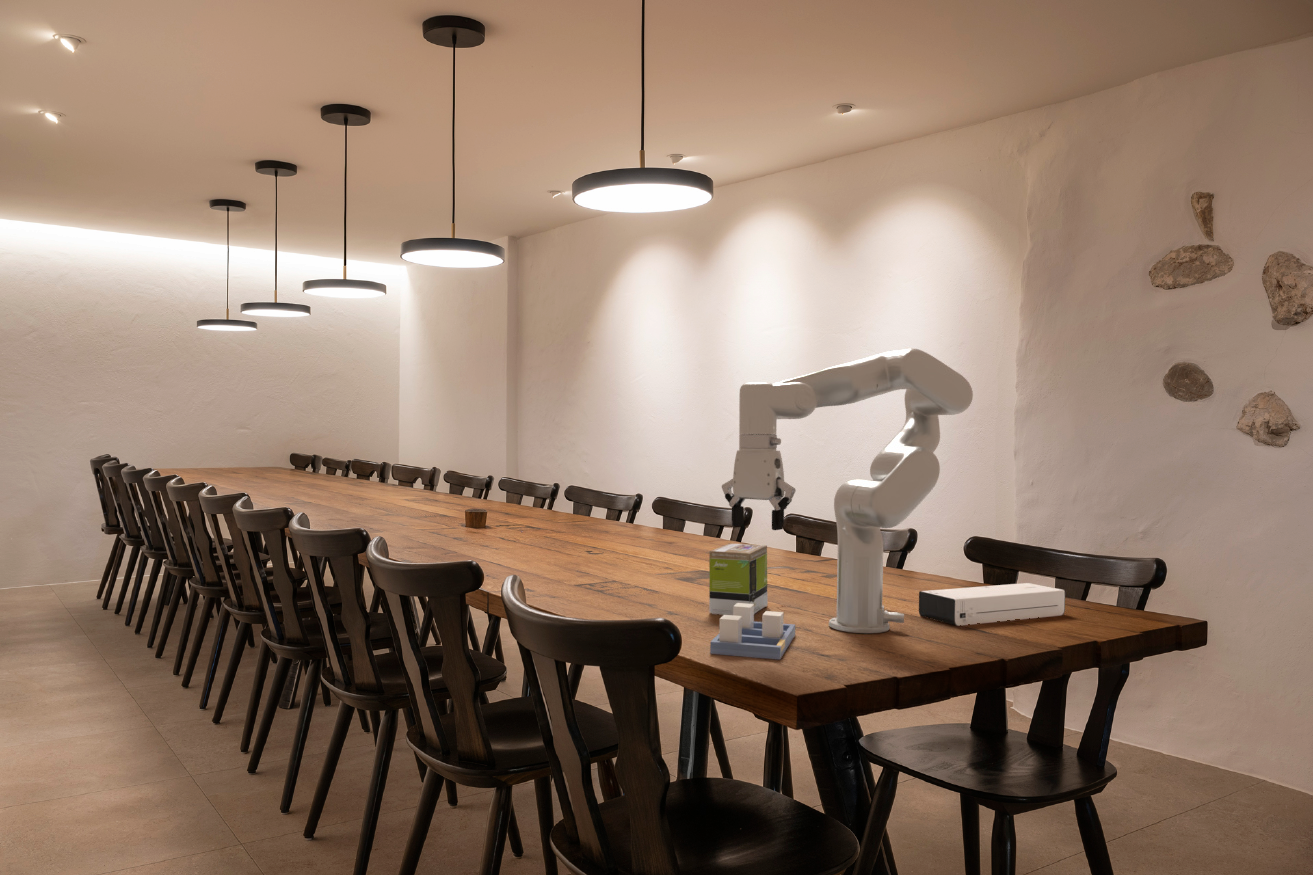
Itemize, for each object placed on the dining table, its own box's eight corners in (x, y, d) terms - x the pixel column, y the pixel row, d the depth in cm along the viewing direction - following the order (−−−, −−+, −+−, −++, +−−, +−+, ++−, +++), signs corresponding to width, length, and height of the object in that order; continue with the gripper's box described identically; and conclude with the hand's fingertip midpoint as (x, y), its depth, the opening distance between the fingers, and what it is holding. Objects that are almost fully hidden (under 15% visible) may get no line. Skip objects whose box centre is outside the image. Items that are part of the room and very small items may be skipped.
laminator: (1026, 607, 221) (1027, 582, 221) (1069, 617, 210) (1069, 590, 210) (918, 617, 206) (918, 590, 206) (957, 628, 195) (958, 600, 195)
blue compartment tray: (795, 635, 184) (795, 624, 184) (779, 659, 164) (780, 647, 164) (732, 630, 188) (732, 619, 188) (710, 653, 168) (710, 641, 168)
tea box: (728, 602, 219) (729, 542, 219) (768, 606, 215) (769, 544, 215) (707, 614, 205) (708, 549, 205) (750, 618, 201) (751, 551, 201)
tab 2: (753, 628, 185) (754, 603, 185) (750, 632, 181) (750, 607, 181) (736, 626, 186) (737, 602, 186) (732, 630, 182) (733, 606, 182)
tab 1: (741, 642, 172) (742, 615, 172) (737, 646, 169) (737, 620, 169) (723, 640, 173) (724, 614, 173) (719, 645, 170) (719, 618, 170)
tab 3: (783, 637, 177) (783, 612, 177) (780, 642, 173) (780, 616, 173) (765, 636, 178) (765, 610, 178) (761, 640, 174) (762, 614, 174)
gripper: (804, 444, 180) (803, 529, 180) (734, 442, 192) (733, 523, 192) (783, 444, 175) (783, 532, 175) (712, 443, 186) (712, 526, 186)
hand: (757, 527), depth 183 cm, fingers open, 9 cm apart
